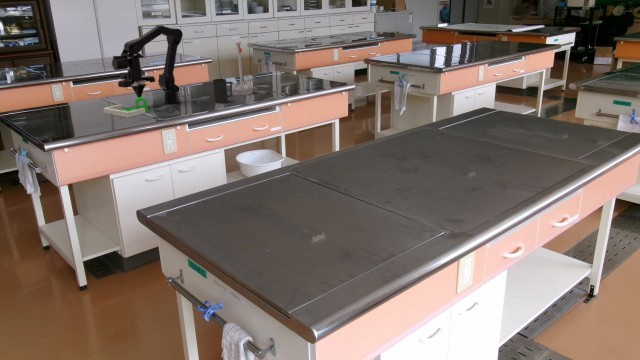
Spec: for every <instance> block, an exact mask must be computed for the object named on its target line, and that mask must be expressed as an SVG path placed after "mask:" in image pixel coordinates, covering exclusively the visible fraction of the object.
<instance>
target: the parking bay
mask: <svg viewBox="0 0 640 360" xmlns="http://www.w3.org/2000/svg"><path fill="white" fill-rule="evenodd" d="M123 110H124V107H123V104H122V103H121V104H116V105H111V106H107V107H103V113H104V114H107V115H112V116H119V117H123V118H132V117H136V116H140V115H143V114H146V113H145V108H141V109H137V110H133V111H129V112H127V111H123Z"/></svg>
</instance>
